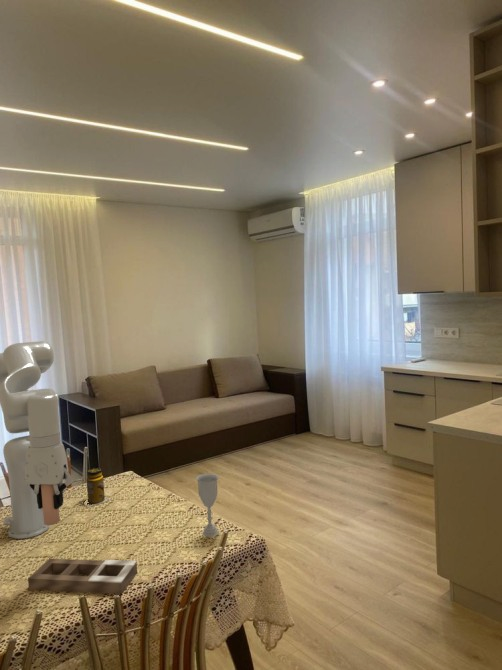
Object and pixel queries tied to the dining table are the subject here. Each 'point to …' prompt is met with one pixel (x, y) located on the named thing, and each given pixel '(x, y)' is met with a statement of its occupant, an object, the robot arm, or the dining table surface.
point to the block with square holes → (96, 582)
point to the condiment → (95, 487)
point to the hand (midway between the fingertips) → (50, 506)
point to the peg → (49, 505)
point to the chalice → (208, 499)
